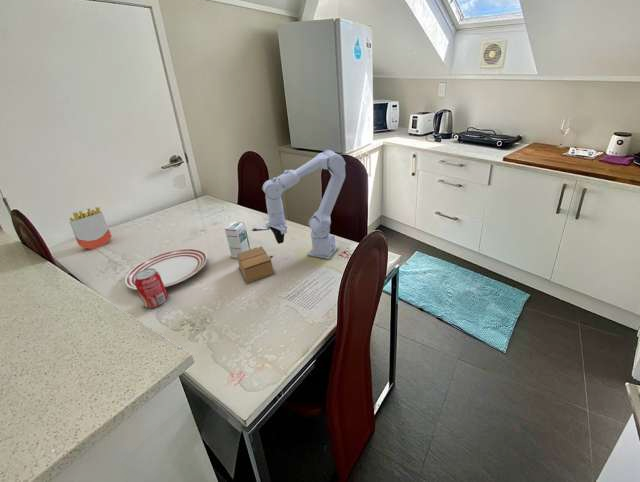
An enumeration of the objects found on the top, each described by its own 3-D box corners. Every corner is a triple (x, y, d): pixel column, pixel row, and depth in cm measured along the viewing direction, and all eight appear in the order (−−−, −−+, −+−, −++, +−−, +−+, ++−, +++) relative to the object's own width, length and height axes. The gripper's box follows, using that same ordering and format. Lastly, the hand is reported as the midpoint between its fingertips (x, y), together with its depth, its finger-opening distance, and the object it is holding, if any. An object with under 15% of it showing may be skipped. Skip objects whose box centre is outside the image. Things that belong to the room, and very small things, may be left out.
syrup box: (243, 259, 130) (237, 228, 124) (231, 257, 131) (223, 227, 125) (251, 251, 135) (245, 222, 129) (239, 250, 136) (232, 221, 130)
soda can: (151, 296, 110) (140, 267, 105) (172, 294, 110) (162, 266, 105) (139, 310, 103) (127, 281, 98) (161, 308, 104) (150, 279, 99)
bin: (273, 273, 121) (271, 259, 118) (247, 283, 116) (244, 268, 113) (264, 259, 129) (261, 246, 127) (239, 267, 124) (236, 253, 122)
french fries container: (80, 249, 139) (63, 212, 132) (109, 238, 147) (95, 203, 140) (84, 252, 137) (67, 215, 129) (113, 241, 145) (99, 206, 138)
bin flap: (270, 260, 118) (270, 259, 118) (244, 269, 113) (244, 268, 113) (266, 253, 122) (266, 253, 122) (240, 262, 117) (240, 261, 117)
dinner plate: (117, 276, 120) (114, 269, 119) (192, 246, 139) (190, 240, 138) (140, 308, 104) (137, 300, 103) (221, 269, 123) (219, 262, 122)
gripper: (259, 207, 121) (264, 237, 126) (271, 221, 110) (276, 253, 115) (277, 203, 125) (281, 232, 130) (290, 216, 114) (294, 247, 119)
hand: (280, 242), depth 123 cm, fingers closed
